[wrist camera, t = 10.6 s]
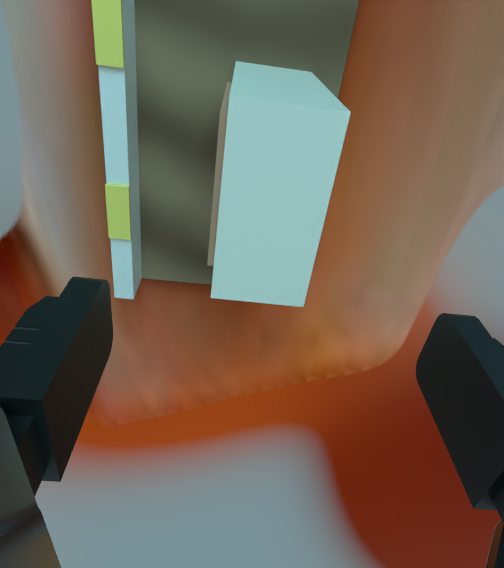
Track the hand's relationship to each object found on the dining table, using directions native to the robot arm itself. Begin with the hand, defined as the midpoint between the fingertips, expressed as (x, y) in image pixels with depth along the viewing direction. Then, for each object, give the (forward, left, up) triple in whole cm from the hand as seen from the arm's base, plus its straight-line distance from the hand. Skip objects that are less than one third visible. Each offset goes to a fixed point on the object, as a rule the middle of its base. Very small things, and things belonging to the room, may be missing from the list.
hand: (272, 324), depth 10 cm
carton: (0, 0, -17) cm, 17 cm away
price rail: (0, -7, -17) cm, 18 cm away
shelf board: (0, -2, -18) cm, 18 cm away
